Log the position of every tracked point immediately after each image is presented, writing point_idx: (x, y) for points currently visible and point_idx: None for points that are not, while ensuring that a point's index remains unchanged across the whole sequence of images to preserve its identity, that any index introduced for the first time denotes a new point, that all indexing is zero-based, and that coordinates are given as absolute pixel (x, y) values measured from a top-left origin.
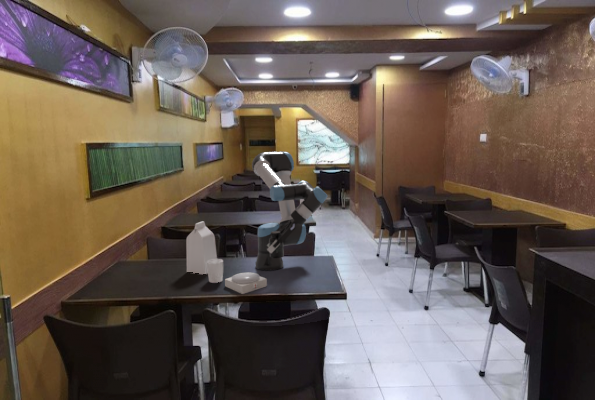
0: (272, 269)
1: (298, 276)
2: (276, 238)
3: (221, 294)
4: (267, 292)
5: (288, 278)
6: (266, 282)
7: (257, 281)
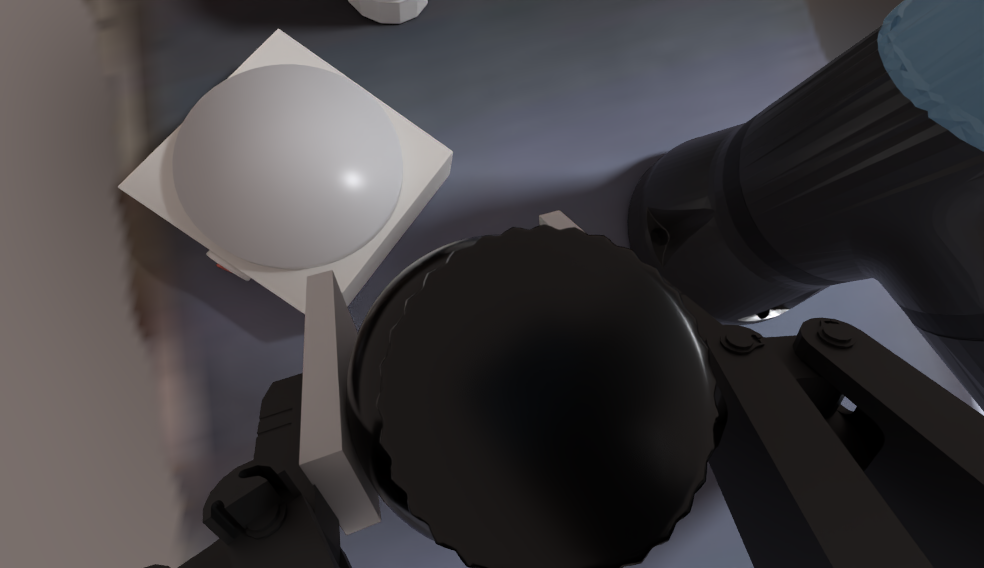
0: None
1: None
2: (204, 514)
3: (140, 82)
4: (203, 369)
5: None
6: None
7: (246, 270)
